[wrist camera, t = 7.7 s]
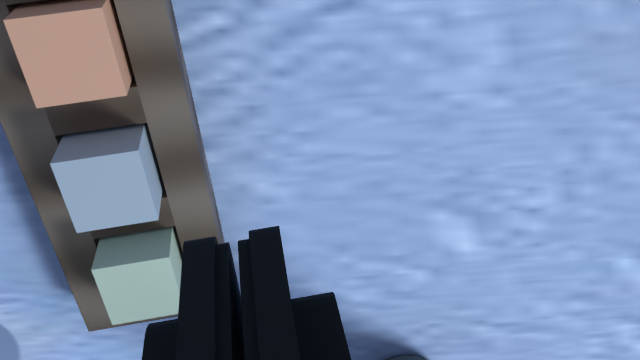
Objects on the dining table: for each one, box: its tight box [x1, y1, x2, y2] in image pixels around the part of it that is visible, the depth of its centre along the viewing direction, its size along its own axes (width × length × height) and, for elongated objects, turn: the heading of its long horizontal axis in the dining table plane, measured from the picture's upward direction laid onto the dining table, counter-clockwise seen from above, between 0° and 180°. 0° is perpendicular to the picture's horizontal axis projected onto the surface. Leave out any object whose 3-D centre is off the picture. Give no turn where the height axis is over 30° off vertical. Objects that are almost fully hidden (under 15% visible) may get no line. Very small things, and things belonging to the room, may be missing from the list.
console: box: [0, 0, 225, 331], centre depth 39 cm, size 27×11×3 cm, turn 5°
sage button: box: [91, 226, 183, 325], centre depth 41 cm, size 5×5×4 cm
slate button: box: [50, 123, 163, 233], centre depth 37 cm, size 5×5×4 cm
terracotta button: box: [3, 0, 134, 108], centre depth 34 cm, size 5×5×4 cm
